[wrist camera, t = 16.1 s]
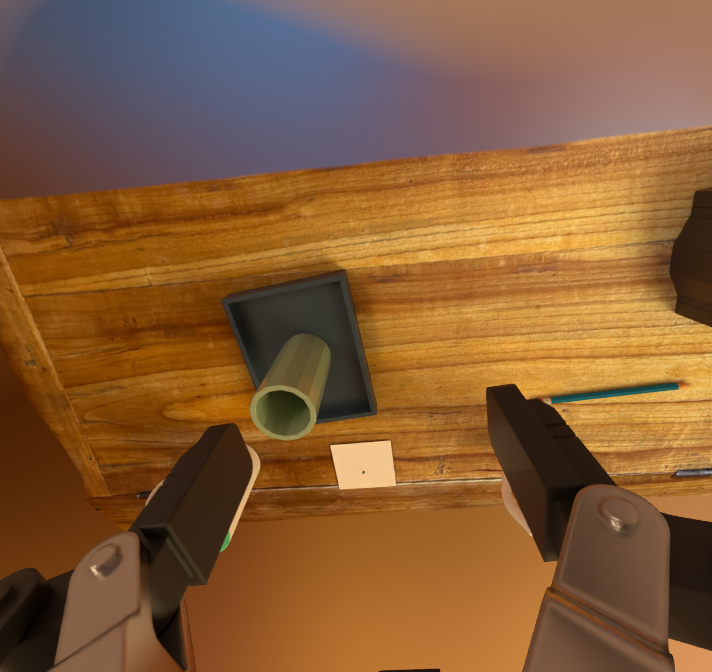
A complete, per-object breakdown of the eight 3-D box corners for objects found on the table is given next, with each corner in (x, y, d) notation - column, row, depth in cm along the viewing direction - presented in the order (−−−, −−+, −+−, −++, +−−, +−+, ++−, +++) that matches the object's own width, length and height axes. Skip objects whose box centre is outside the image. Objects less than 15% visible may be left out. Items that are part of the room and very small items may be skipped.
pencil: (535, 397, 39) (538, 401, 39) (691, 379, 37) (696, 382, 37) (535, 403, 40) (537, 406, 39) (689, 385, 38) (694, 388, 37)
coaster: (390, 440, 43) (390, 444, 42) (396, 485, 46) (396, 490, 45) (330, 445, 43) (329, 449, 43) (339, 489, 46) (339, 494, 46)
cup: (276, 338, 37) (239, 391, 27) (324, 328, 36) (306, 380, 26) (290, 380, 39) (261, 444, 29) (336, 372, 38) (323, 435, 28)
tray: (228, 294, 36) (220, 299, 34) (345, 269, 34) (343, 273, 32) (276, 420, 42) (272, 430, 40) (376, 404, 41) (377, 415, 39)
